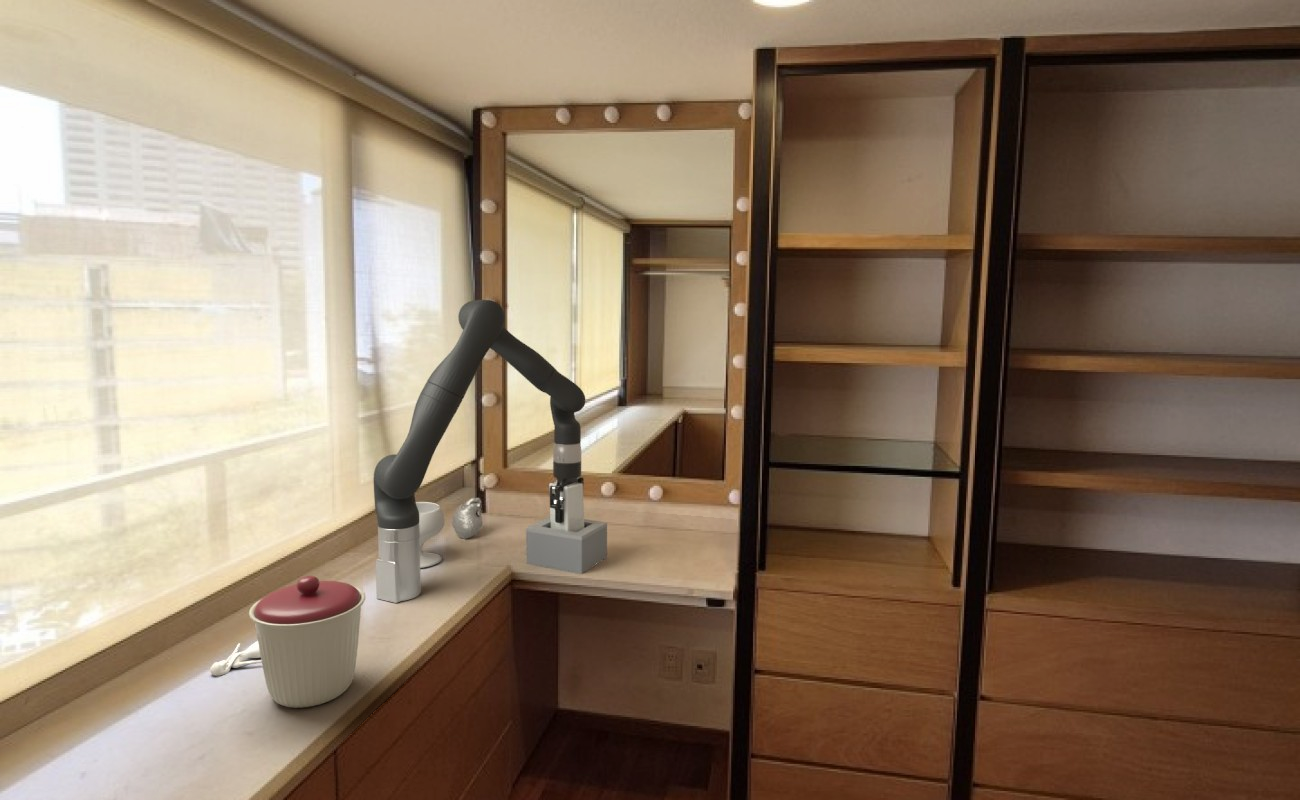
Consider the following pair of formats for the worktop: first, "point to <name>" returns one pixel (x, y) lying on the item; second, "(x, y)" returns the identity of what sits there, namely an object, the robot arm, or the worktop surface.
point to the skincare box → (570, 508)
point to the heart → (468, 518)
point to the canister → (308, 640)
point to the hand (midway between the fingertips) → (566, 519)
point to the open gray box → (566, 546)
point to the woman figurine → (236, 660)
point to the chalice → (429, 529)
